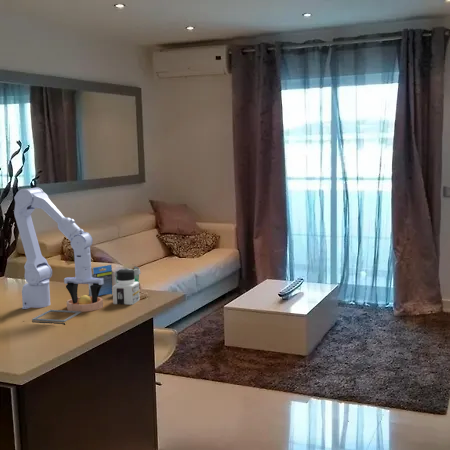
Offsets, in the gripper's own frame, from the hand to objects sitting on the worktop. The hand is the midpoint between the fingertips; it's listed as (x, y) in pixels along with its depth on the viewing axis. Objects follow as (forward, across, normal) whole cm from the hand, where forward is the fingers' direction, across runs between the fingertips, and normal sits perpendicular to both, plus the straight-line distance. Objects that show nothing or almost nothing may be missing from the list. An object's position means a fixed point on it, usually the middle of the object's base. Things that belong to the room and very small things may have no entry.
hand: (85, 303), depth 221 cm
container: (+2, +12, +10) cm, 16 cm away
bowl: (+2, 0, 0) cm, 2 cm away
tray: (+2, -4, -13) cm, 14 cm away
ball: (+1, 0, 0) cm, 1 cm away
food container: (+2, +8, +25) cm, 26 cm away
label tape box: (+2, -3, +20) cm, 20 cm away
